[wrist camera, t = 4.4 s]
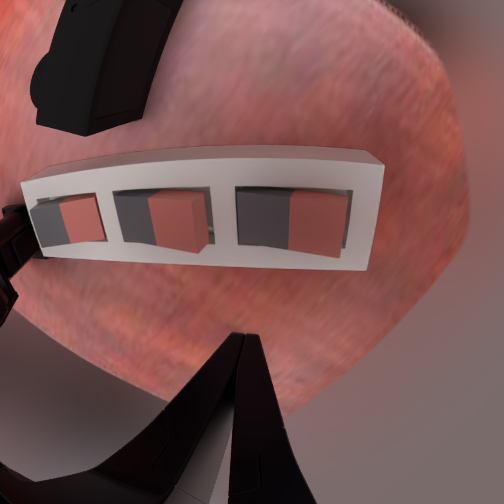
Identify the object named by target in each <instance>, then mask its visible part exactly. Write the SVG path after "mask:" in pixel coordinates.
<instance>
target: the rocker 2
mask: <svg viewBox="0 0 504 504" xmlns="http://www.w3.org/2000/svg"><path fill="white" fill-rule="evenodd" d="M113 197H114V201H115V206H116V210H117V215H118V219H119V223H120V227H121V231H122V235H123V239H124V240H128V241H133V242H138V243H144V244H149V245H154V246H159V247H164V248H170V249H175V250H180V251H185V252H191V253H196V254H199V253H200V251H201V250H202V249H203V248H204V247H205V246H206V245H207V244H208V243H209V236H208V227H207V217H206V208H205V198H204V193H201V192H187V191H173V190H156V189H131V190H123V191H121V192H119V193H118V194H116V195H114V196H113Z"/></svg>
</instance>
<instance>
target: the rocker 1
mask: <svg viewBox="0 0 504 504" xmlns="http://www.w3.org/2000/svg"><path fill="white" fill-rule="evenodd" d="M30 215H31V218H32V221H33V224H34V227H35V230H36V233H37V236H38V239H39V242H40V244H41V247H42V248H45V247H51V246H58V245H66V244H73V243H80V242H88V241H96V240H103V239H105V238H106V237H107V236H106V232H105V228H104V225H103V221H102V217H101V213H100V209H99V205H98V200H97V196H96V192H93V193H84V194H78V195H73V196H69V197H64V198H59V199H55V200H50V201H46V202H41V203H38V204H36V205H35V206H34V207H33V208H32V209H31V210H30Z"/></svg>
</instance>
